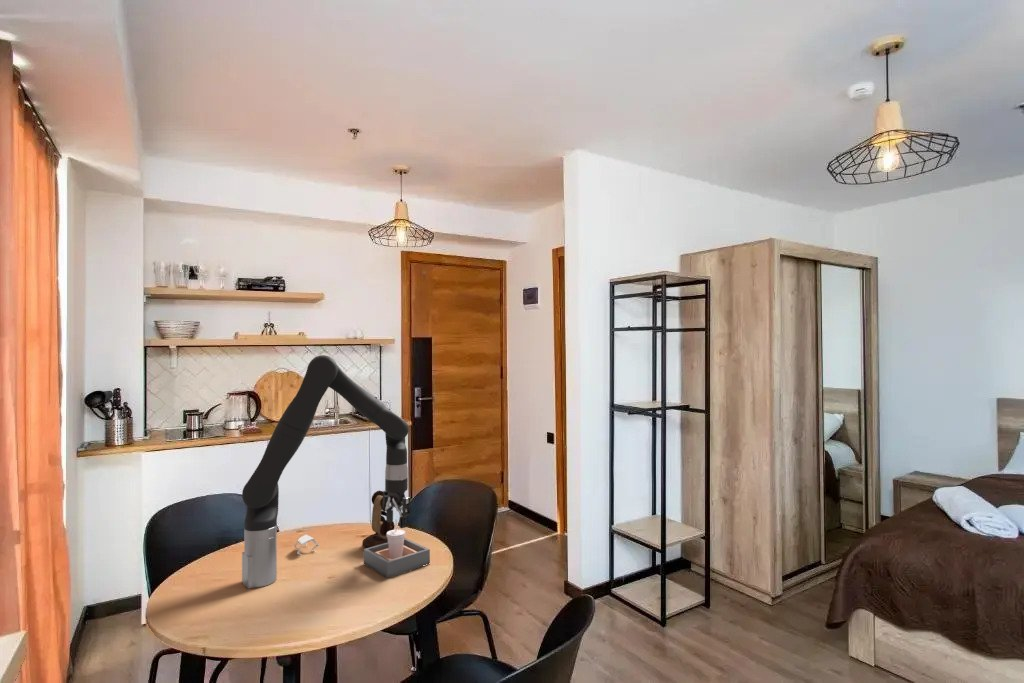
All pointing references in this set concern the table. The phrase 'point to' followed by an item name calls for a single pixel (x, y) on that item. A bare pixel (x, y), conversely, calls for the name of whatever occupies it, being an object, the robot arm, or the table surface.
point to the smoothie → (395, 542)
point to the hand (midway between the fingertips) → (396, 524)
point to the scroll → (378, 523)
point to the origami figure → (304, 540)
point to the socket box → (389, 568)
